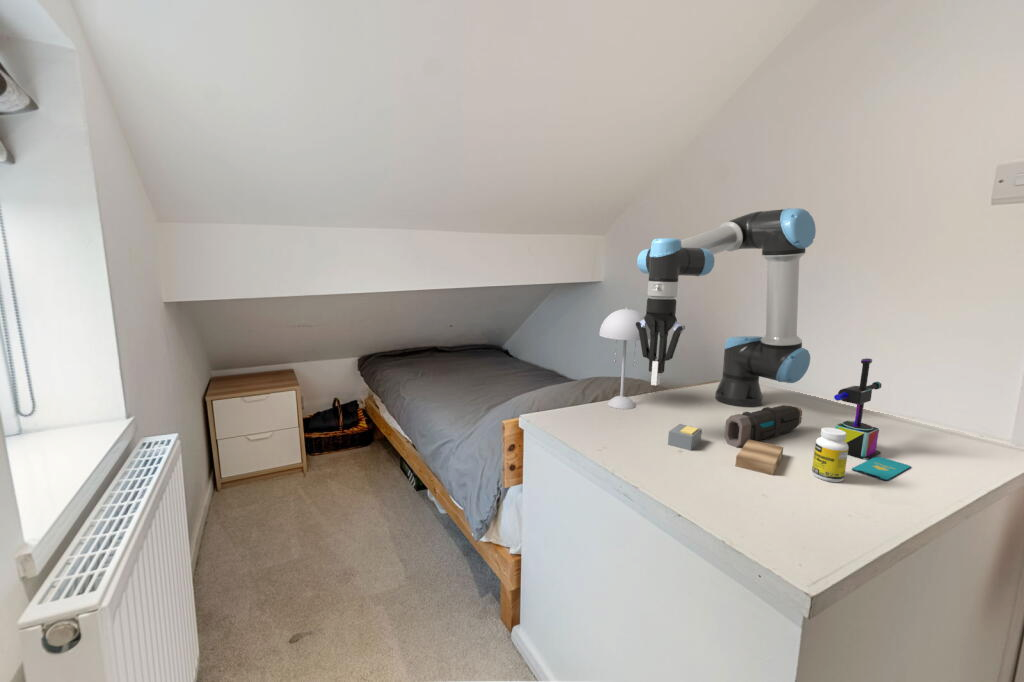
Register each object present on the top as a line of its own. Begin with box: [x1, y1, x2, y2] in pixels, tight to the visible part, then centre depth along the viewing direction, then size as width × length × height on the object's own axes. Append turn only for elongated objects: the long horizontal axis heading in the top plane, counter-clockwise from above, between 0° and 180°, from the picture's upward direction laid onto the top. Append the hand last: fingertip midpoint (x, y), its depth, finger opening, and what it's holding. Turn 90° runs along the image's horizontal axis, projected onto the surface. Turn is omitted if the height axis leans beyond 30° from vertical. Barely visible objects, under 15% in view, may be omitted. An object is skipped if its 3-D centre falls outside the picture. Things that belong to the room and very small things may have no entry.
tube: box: [724, 404, 803, 448], centre depth 133 cm, size 11×7×30 cm
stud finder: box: [667, 423, 703, 451], centre depth 127 cm, size 8×6×4 cm
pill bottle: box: [811, 427, 849, 483], centre depth 108 cm, size 6×6×11 cm
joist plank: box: [735, 439, 784, 476], centre depth 117 cm, size 14×8×2 cm, turn 143°
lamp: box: [598, 307, 650, 410], centre depth 159 cm, size 17×17×33 cm
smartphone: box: [851, 455, 912, 482], centre depth 114 cm, size 7×1×15 cm
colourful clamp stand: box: [833, 357, 882, 461], centre depth 125 cm, size 25×9×24 cm, turn 124°
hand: (655, 384), depth 130 cm, fingers closed
